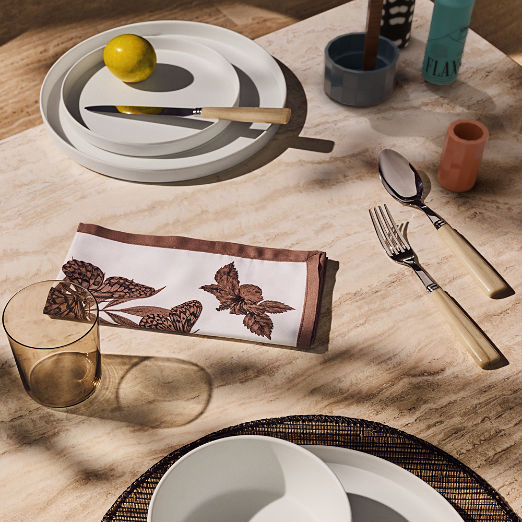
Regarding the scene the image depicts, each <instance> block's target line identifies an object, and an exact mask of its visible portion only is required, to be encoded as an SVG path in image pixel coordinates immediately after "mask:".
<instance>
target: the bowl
mask: <svg viewBox="0 0 522 522" xmlns="http://www.w3.org/2000/svg"><path fill="white" fill-rule="evenodd" d="M364 41H365V31H354V32H353V31H352V32H347V33H344V34H339V35H336V36H335V37H334V38H331V40H329V41H328V42H327V43H326V45H325V47H324V50H323V65H322V66H323V68H322V87H323V91H324V92H325V93H326V94H327V96H328V97H329V98H331V99H332V100H334V101H336V102H339V103H340V104H344V105H348V106H353V107H370V106H373V105H377V104H381V103H383V102H385V101H386V100H387V99H388V98H390V97H391V96H392V95H393V93H394V91H395V88H396V83H397V78H398V77H397V76H398V69H399V62H400V55H401V54H400V50H398V47H397V46H396V45H395V44H394V43H393V42H392V41H391V40H390V39H387V38H385V37H383V36H381V35H379V42H378V51H377V59H376V67H375V70H373V71H363V69H362V60H363V50H364Z"/></svg>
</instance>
